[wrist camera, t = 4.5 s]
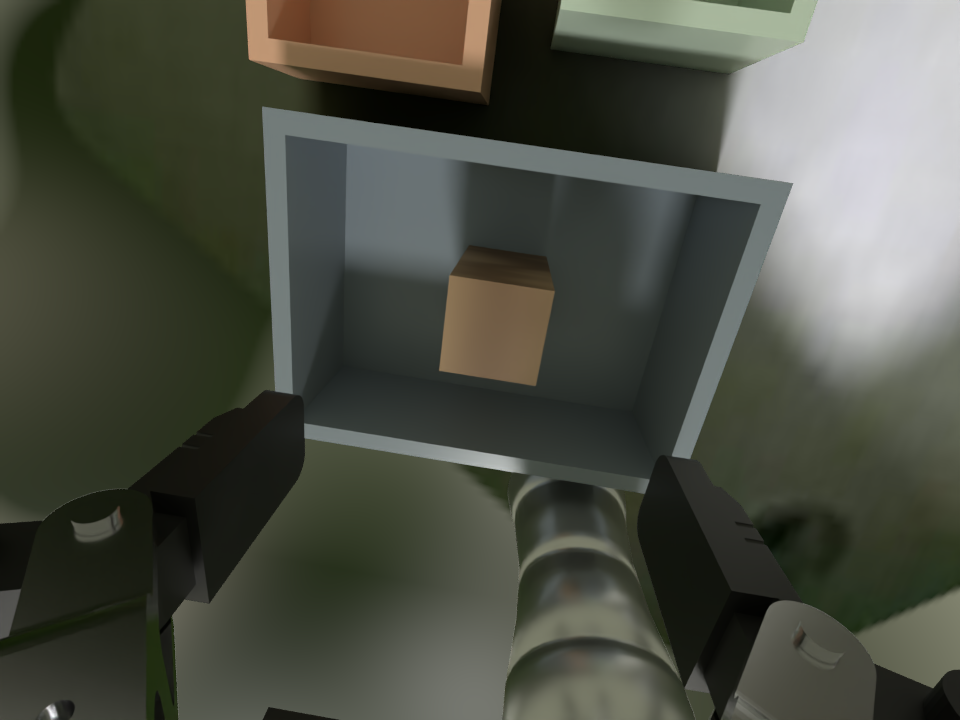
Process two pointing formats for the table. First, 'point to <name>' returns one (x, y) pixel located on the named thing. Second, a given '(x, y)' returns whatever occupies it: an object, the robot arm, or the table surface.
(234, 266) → the table surface
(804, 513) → the table surface
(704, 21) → the pale green open box
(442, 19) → the peach square tray
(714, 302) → the slate bin
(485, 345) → the walnut block
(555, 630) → the plastic bottle
